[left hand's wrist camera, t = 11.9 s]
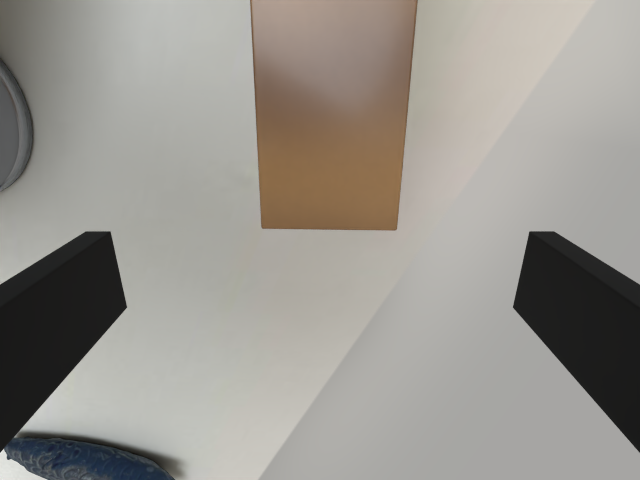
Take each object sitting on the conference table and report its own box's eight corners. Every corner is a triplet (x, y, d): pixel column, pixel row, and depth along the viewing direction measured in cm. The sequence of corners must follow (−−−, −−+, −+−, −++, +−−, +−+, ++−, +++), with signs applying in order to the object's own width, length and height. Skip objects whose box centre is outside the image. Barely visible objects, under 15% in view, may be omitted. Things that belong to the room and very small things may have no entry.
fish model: (180, 490, 50) (164, 531, 45) (16, 460, 49) (-18, 498, 44) (185, 454, 48) (170, 493, 43) (13, 421, 46) (-22, 457, 42)
